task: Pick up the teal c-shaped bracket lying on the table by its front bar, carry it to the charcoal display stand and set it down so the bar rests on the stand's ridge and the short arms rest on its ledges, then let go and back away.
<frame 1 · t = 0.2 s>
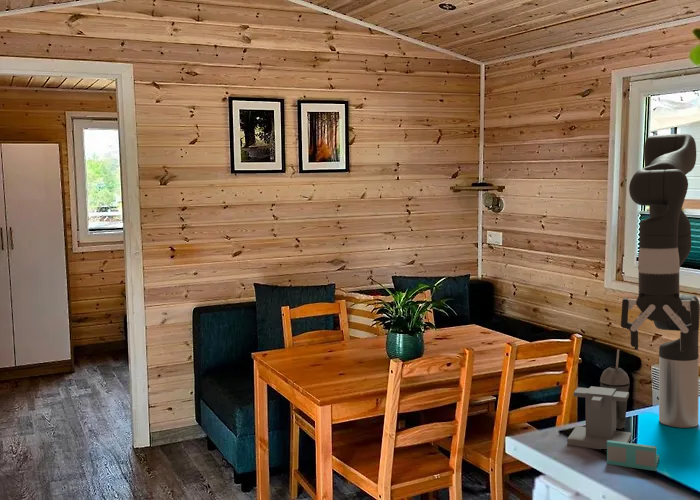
hand: (658, 349, 143), 28 cm above the counter, fingers open, 8 cm apart
teal c-shaped bracket: (631, 466, 156), on the counter
beverage cup: (615, 427, 182), on the counter
stand: (599, 442, 171), on the counter
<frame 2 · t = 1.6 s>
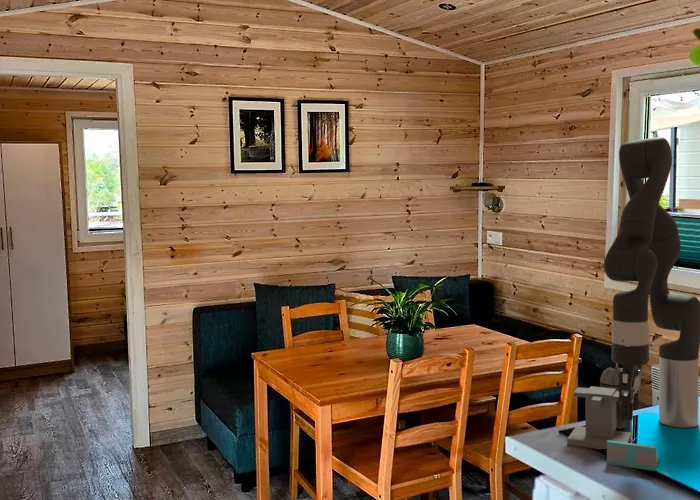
hand: (629, 414, 155), 12 cm above the counter, fingers open, 8 cm apart
nothing on the counter moved.
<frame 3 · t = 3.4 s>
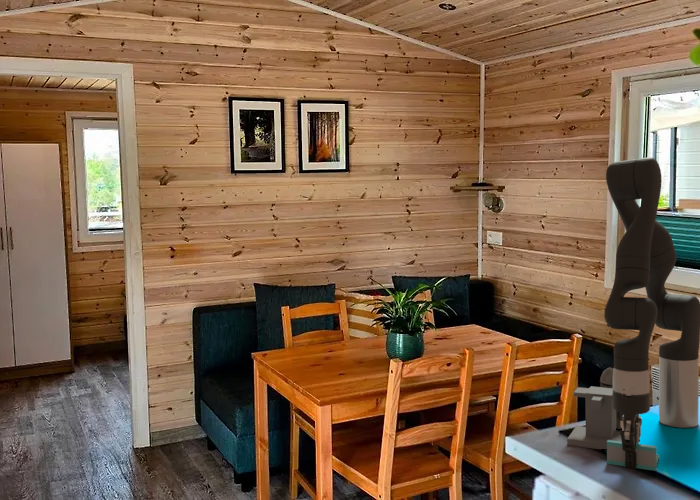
hand: (631, 466, 156), 0 cm above the counter, fingers closed on teal c-shaped bracket
teal c-shaped bracket: (631, 466, 156), on the counter, touching gripper
everything else where it was.
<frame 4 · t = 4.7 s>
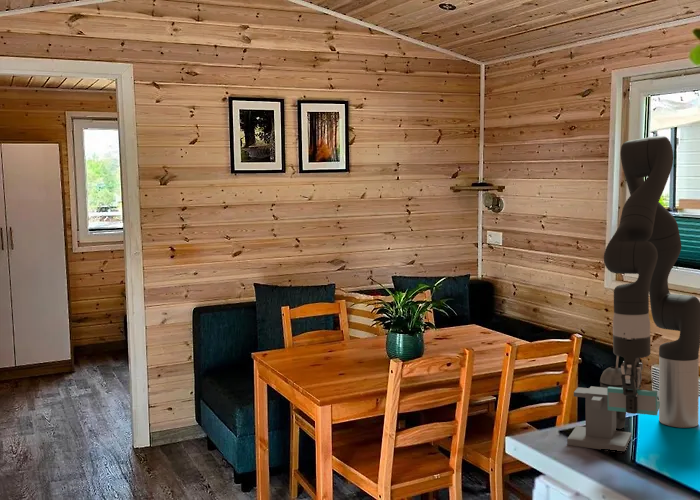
hand: (632, 411, 155), 12 cm above the counter, fingers closed on teal c-shaped bracket
teal c-shaped bracket: (632, 412, 155), point 12 cm above the counter, touching gripper
everything else where it was.
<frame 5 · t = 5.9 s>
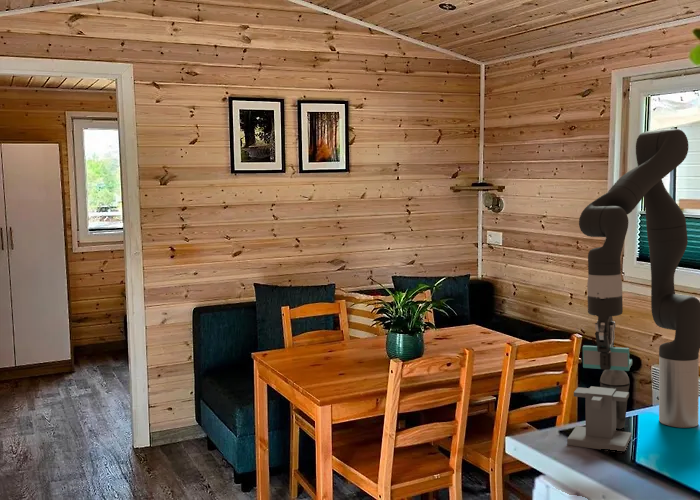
hand: (606, 367, 164), 20 cm above the counter, fingers closed on teal c-shaped bracket
teal c-shaped bracket: (606, 368, 164), point 19 cm above the counter, touching gripper
everything else where it was.
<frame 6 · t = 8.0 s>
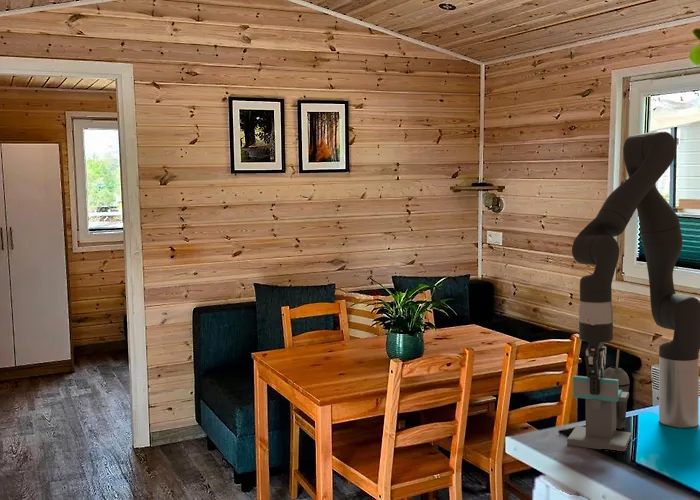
hand: (596, 392, 167), 13 cm above the counter, fingers open, 3 cm apart
teal c-shaped bracket: (595, 398, 167), point 11 cm above the counter, touching stand
everything else where it was.
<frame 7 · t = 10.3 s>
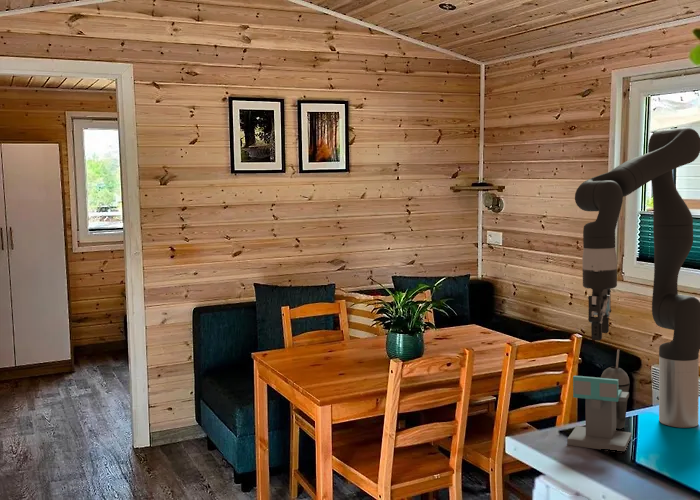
hand: (600, 336, 166), 27 cm above the counter, fingers open, 8 cm apart
nothing on the counter moved.
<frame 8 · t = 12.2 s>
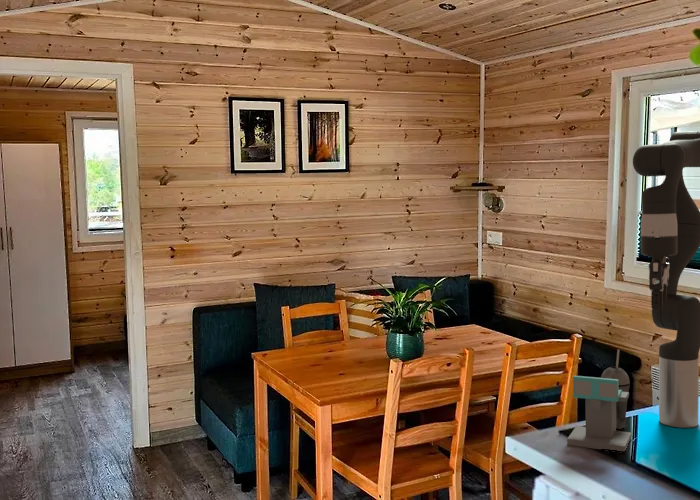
hand: (659, 305, 160), 34 cm above the counter, fingers open, 8 cm apart
nothing on the counter moved.
at the end: teal c-shaped bracket 0.2 cm from the target spot on the stand, point 11.5 cm above the stand's base; the gripper is holding nothing; teal c-shaped bracket tilted 0° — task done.
